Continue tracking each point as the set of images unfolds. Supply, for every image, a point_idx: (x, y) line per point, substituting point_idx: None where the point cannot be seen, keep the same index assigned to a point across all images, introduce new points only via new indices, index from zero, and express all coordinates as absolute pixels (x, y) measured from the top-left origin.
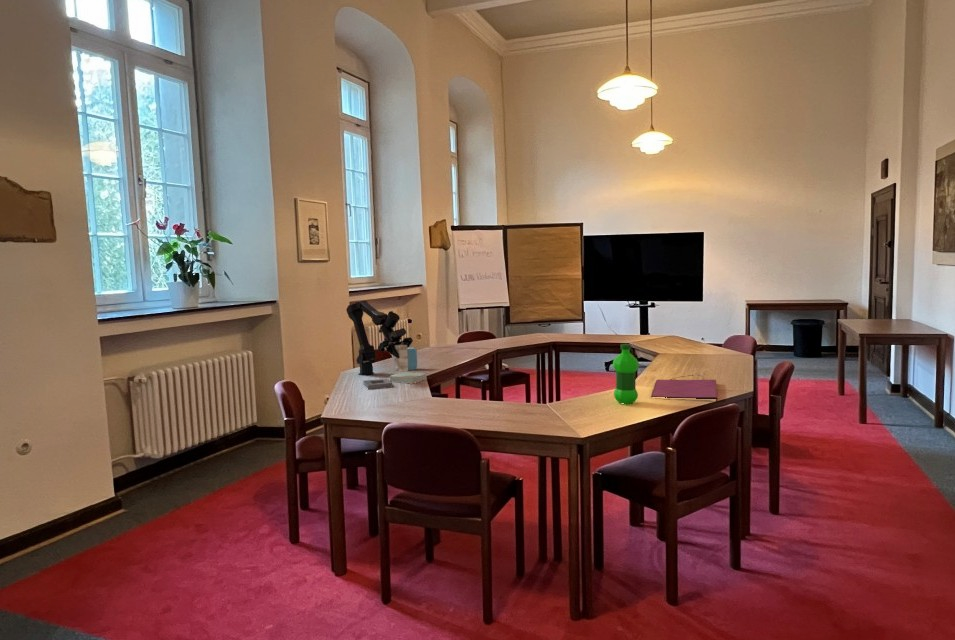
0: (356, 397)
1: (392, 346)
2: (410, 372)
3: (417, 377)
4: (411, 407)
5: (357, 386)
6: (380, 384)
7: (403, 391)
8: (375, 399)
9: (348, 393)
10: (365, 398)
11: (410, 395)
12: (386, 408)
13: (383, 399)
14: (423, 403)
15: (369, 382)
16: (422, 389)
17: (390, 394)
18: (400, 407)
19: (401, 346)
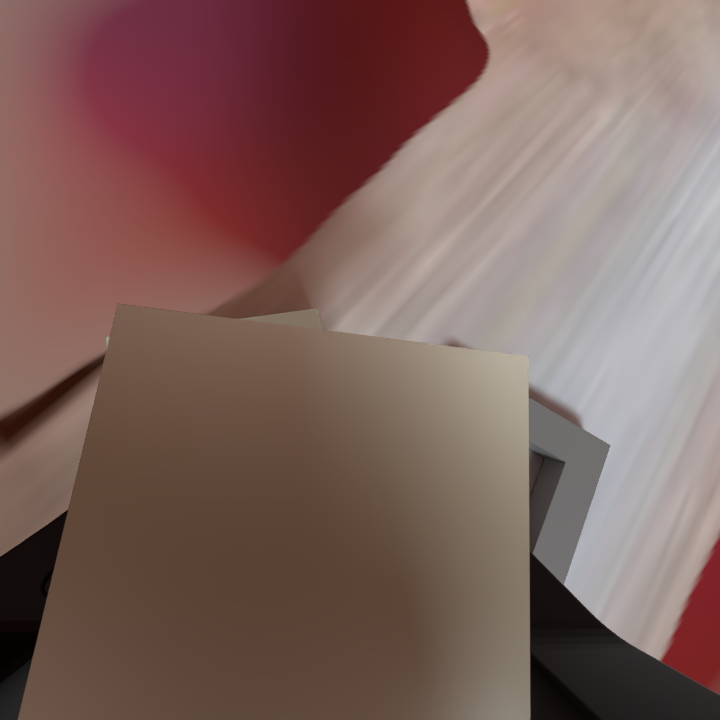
0: (712, 331)
1: (672, 689)
2: None
3: (247, 319)
4: (638, 12)
5: (585, 581)
6: (535, 402)
7: (488, 223)
8: (670, 222)
9: (703, 446)
10: (691, 277)
11: (521, 135)
12: (707, 82)
13: (646, 191)
14: (573, 5)
15: (557, 515)
16: (391, 166)
17: (571, 234)
18: (665, 46)
19: (444, 348)
